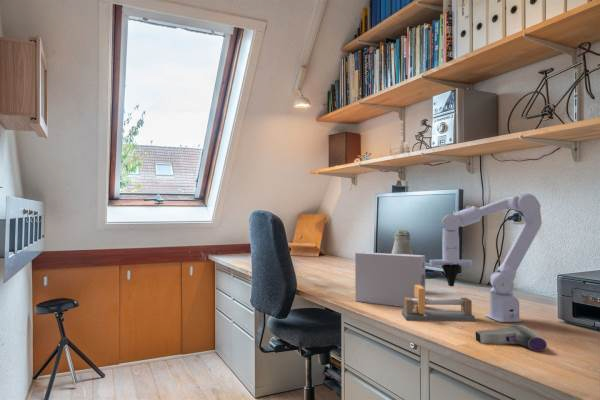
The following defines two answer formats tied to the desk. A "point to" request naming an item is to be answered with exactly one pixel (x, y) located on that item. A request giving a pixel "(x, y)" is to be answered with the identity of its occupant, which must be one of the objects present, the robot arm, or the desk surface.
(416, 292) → the collar
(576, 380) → the desk surface
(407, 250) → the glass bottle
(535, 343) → the infrared thermometer
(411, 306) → the pipe stand
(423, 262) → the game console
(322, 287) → the desk surface
